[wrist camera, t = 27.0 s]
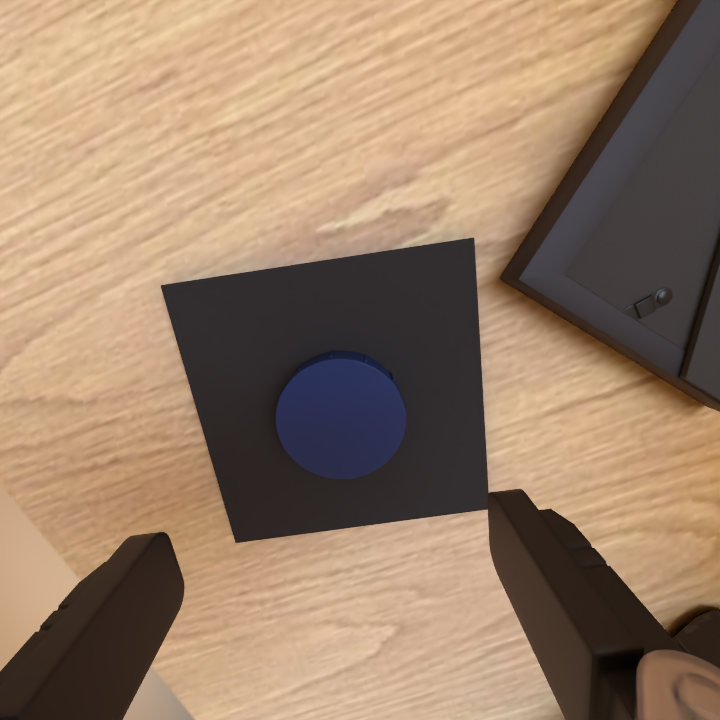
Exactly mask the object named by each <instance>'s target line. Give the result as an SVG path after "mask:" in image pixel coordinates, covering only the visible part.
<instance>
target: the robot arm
mask: <svg viewBox="0 0 720 720" xmlns="http://www.w3.org/2000/svg"><path fill="white" fill-rule="evenodd" d="M488 520H489V543H490V551H491V556H492V560H493V563H494V566H495V569H496V572H497V574H498V576H499V578H500V581H501V583H502V585H503V587H504V589H505V591H506V593H507V595H508V598H509V600H510V602H511V604H512V606H513V608H514V610H515V613H516V615H517V617H518V619H519V621H520V623H521V625H522V627H523V630H524V632H525V634H526V636H527V638H528V640H529V642H530V645H531V647H532V649H533V651H534V653H535V655H536V657H537V659H538V662H539V664H540V666H541V668H542V670H543V672H544V674H545V677H546V679H547V681H548V683H549V685H550V687H551V689H552V691H553V694H554V696H555V698H556V700H557V702H558V704H559V706H560V709H561V711H562V713H563V715H564V717H565V719H566V720H720V669H719V668H718V667H716V666H714V665H713V664H711V663H709V662H707V661H705V660H702V659H700V658H698V657H696V656H693V655H690V654H687V653H686V652H684V651H683V649H682V648H681V647H680V646H679V645H678V644H677V643H676V642H675V641H674V640H673V639H672V637H671V636H670V635H669V634H668V633H667V632H666V630H665V629H664V628H663V627H662V626H661V625H660V624H659V622H658V621H657V620H656V619H655V618H654V617H653V615H652V614H651V613H650V612H649V611H648V610H647V608H646V607H645V606H644V605H643V604H642V603H641V602H640V600H639V599H638V598H637V597H636V596H635V595H634V593H633V592H632V591H631V590H630V589H629V588H628V586H627V585H626V584H625V583H624V582H623V581H622V579H621V578H620V577H619V576H618V575H617V574H616V573H615V571H614V570H613V569H612V568H611V567H610V566H607V564H606V561H605V560H604V559H603V557H602V556H601V555H600V554H599V553H598V552H597V551H596V549H595V548H592V547H591V544H590V542H589V541H588V540H587V539H586V538H585V537H584V535H583V534H582V533H581V532H580V531H579V530H578V528H577V527H576V526H575V525H574V524H573V523H571V522H570V521H568V520H567V519H565V518H564V517H562V516H561V515H559V514H558V513H556V512H555V511H553V510H552V509H546V510H538V509H537V507H536V506H535V505H534V503H533V502H532V501H531V500H530V498H529V497H528V496H527V494H526V493H525V492H524V491H523V490H522V489H514V490H506V491H498V492H490V493H489V494H488ZM183 597H184V580H183V576H182V573H181V570H180V567H179V564H178V561H177V558H176V555H175V552H174V549H173V546H172V543H171V540H170V538H169V536H168V535H167V534H166V533H165V532H158V533H150V534H142V535H134V536H130V537H129V538H127V539H126V540H125V541H124V542H123V543H122V544H121V546H120V547H119V548H118V549H117V550H116V551H115V553H114V554H113V555H112V556H111V557H110V558H109V560H108V561H107V562H104V563H103V564H102V565H101V566H99V567H98V568H97V569H96V570H94V571H93V572H92V573H91V574H89V575H88V576H87V577H86V578H84V579H83V580H82V581H81V582H79V583H78V585H77V586H76V587H75V588H74V589H73V590H72V591H71V592H70V594H69V595H68V596H67V597H66V598H65V599H64V600H63V601H62V603H61V604H60V605H59V608H58V610H57V611H54V612H53V613H52V614H51V615H50V616H49V617H48V619H46V621H45V622H44V623H43V624H42V625H41V627H40V630H39V632H35V633H34V634H33V635H32V636H31V638H30V639H29V640H28V641H27V642H26V643H25V644H24V645H23V647H22V648H21V649H20V650H19V651H18V652H17V653H16V654H15V656H14V657H13V658H12V659H11V660H10V661H9V662H8V663H7V665H6V666H5V667H4V668H3V669H2V670H1V671H0V720H123V718H124V716H125V714H126V712H127V710H128V708H129V706H130V704H131V702H132V700H133V698H134V696H135V694H136V693H137V691H138V689H139V687H140V685H141V683H142V681H143V679H144V677H145V675H146V673H147V671H148V670H149V668H150V666H151V664H152V662H153V660H154V658H155V656H156V654H157V652H158V650H159V648H160V646H161V645H162V643H163V641H164V639H165V637H166V635H167V633H168V631H169V629H170V627H171V625H172V623H173V621H174V620H175V618H176V616H177V614H178V612H179V610H180V607H181V605H182V601H183Z"/></svg>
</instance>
